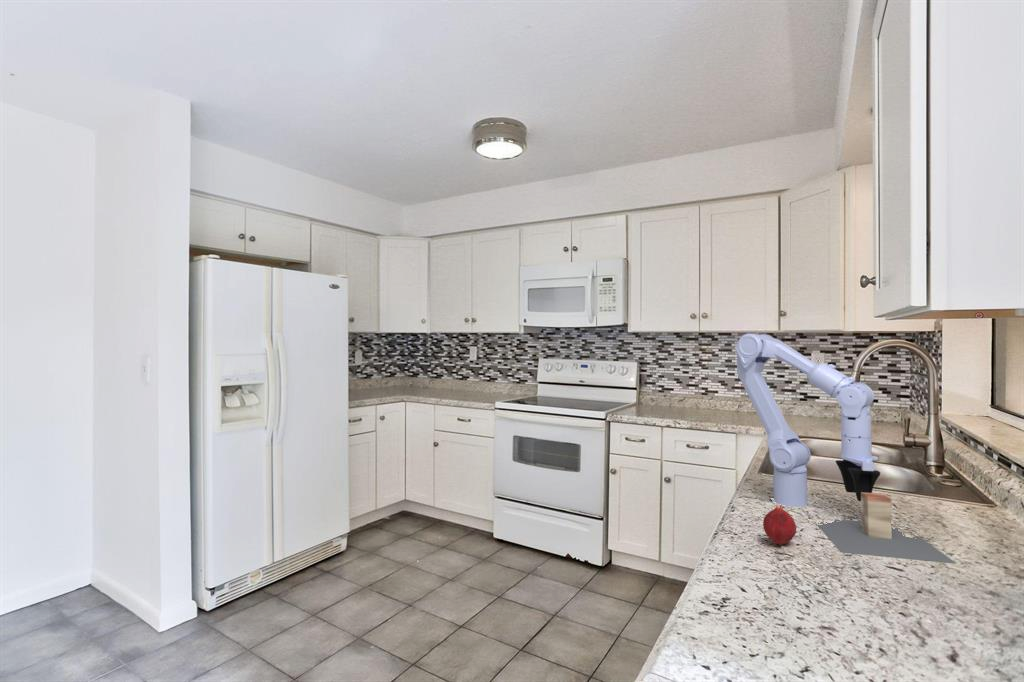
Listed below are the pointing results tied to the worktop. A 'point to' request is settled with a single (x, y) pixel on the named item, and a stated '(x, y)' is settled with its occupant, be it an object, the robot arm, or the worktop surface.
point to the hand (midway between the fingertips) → (857, 496)
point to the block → (876, 515)
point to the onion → (779, 525)
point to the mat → (880, 543)
